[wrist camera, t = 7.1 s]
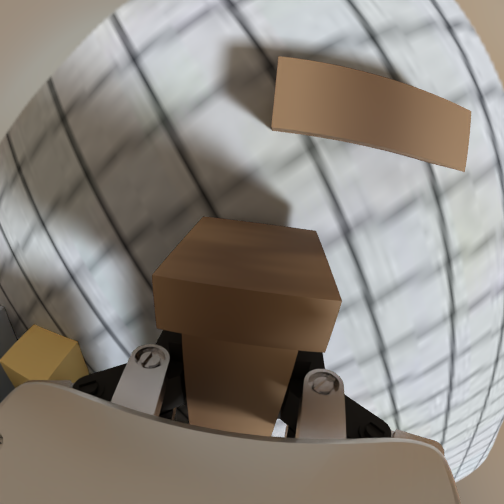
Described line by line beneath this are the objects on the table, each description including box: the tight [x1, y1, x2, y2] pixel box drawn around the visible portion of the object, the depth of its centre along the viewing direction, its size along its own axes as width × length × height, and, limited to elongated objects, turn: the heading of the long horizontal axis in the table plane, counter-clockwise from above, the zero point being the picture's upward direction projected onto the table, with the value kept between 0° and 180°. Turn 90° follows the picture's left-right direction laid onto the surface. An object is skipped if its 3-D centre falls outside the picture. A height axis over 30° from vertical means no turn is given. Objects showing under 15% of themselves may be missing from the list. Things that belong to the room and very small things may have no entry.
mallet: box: [152, 216, 342, 436], centre depth 12 cm, size 12×20×5 cm, turn 174°
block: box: [0, 324, 89, 388], centre depth 15 cm, size 5×5×5 cm
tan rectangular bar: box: [271, 56, 471, 172], centre depth 9 cm, size 7×2×3 cm, turn 84°
